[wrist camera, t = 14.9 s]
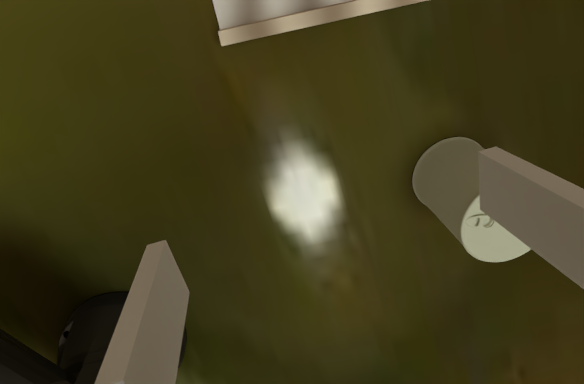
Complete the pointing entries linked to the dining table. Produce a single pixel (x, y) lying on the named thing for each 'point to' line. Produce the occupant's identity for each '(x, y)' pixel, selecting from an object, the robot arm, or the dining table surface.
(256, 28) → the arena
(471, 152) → the can
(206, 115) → the dining table surface
